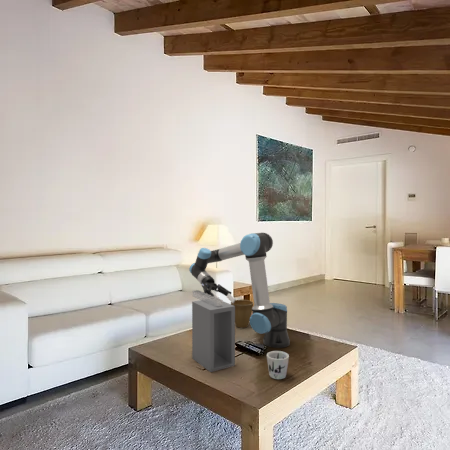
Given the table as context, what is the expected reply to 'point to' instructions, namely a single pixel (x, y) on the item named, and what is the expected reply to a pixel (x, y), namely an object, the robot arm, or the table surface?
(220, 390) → the table surface
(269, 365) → the mug
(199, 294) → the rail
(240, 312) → the plant pot
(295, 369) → the table surface
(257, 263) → the robot arm
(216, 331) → the shelf
